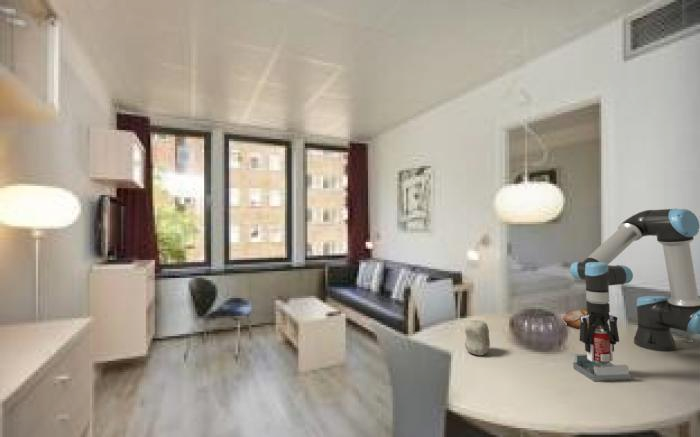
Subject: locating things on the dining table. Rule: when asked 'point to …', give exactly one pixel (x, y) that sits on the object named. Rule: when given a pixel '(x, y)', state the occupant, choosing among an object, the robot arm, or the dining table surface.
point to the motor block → (600, 369)
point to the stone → (477, 337)
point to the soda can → (601, 346)
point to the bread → (575, 318)
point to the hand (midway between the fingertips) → (600, 359)
